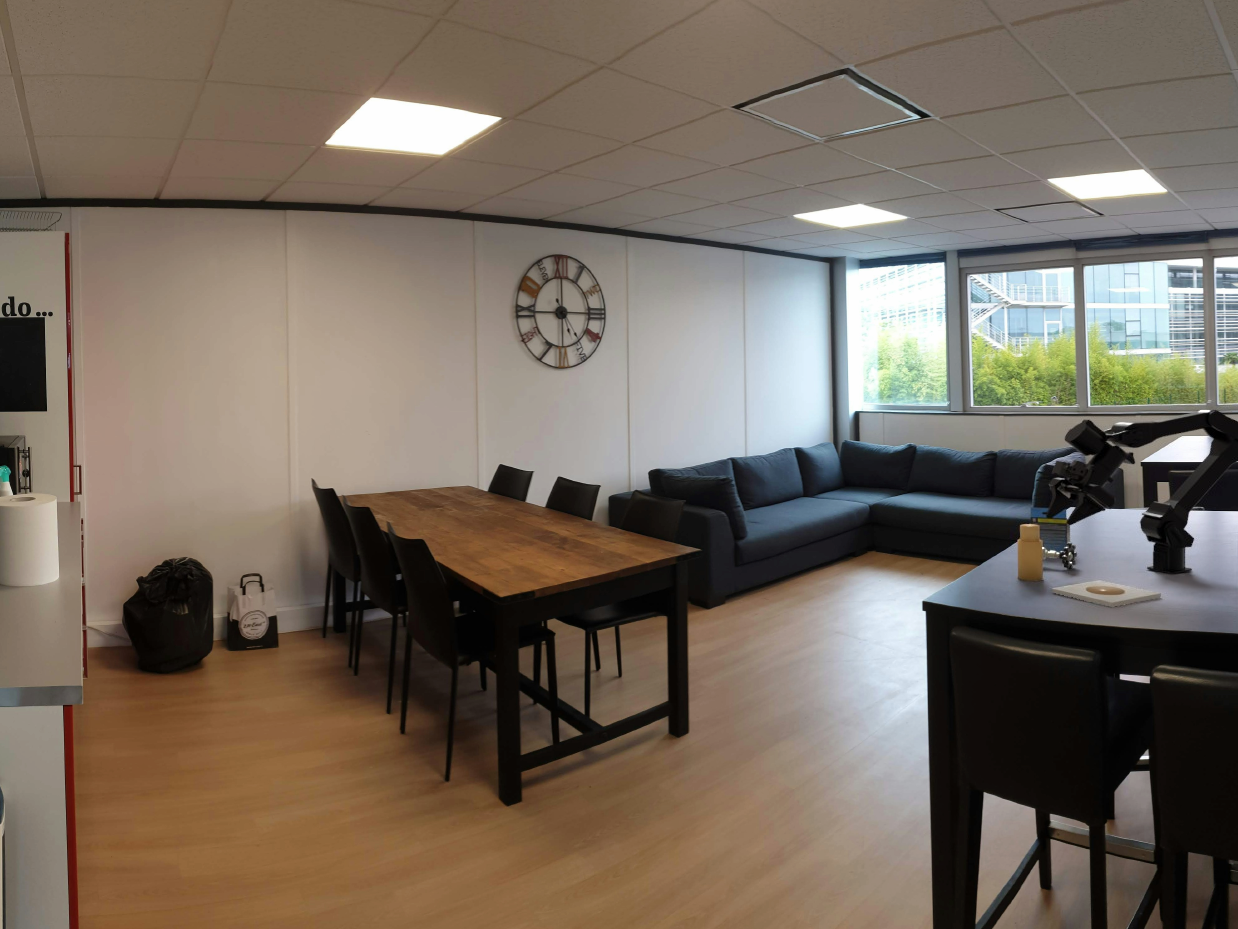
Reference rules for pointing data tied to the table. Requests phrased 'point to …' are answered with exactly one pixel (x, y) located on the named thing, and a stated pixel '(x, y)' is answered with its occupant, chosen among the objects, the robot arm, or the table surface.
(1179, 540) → the robot arm
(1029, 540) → the stepped tan cylinder
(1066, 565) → the valve
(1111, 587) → the plate
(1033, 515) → the label tape cartridge
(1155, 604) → the table surface
